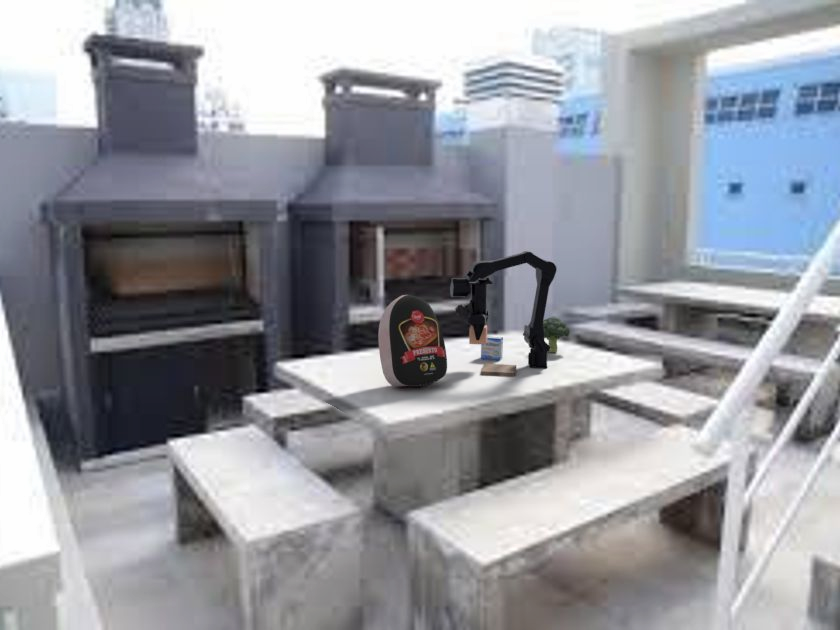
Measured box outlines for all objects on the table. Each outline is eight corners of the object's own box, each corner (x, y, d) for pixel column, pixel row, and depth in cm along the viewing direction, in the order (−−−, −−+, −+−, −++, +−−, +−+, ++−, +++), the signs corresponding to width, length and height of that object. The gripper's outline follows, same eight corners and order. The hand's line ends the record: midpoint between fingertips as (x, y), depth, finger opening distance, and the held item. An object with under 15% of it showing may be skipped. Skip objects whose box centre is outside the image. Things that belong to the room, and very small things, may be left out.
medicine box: (480, 359, 268) (481, 337, 266) (482, 356, 272) (483, 335, 270) (500, 360, 265) (501, 338, 264) (502, 358, 269) (503, 336, 268)
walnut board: (516, 368, 253) (516, 365, 253) (515, 376, 242) (515, 373, 241) (483, 366, 255) (483, 363, 255) (481, 374, 244) (481, 371, 243)
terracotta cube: (487, 341, 254) (487, 325, 253) (485, 344, 248) (486, 328, 247) (471, 340, 255) (471, 324, 254) (469, 343, 249) (469, 327, 248)
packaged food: (401, 396, 215) (401, 302, 210) (368, 383, 231) (367, 295, 226) (455, 386, 228) (456, 297, 223) (420, 374, 244) (421, 290, 239)
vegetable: (535, 348, 286) (536, 313, 284) (566, 349, 286) (567, 314, 283) (539, 355, 274) (540, 318, 272) (571, 356, 274) (572, 319, 271)
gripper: (460, 292, 259) (459, 332, 262) (453, 299, 241) (453, 343, 244) (489, 293, 257) (489, 333, 260) (485, 300, 239) (484, 344, 242)
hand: (478, 338), depth 251 cm, fingers closed on terracotta cube, 6 cm apart
